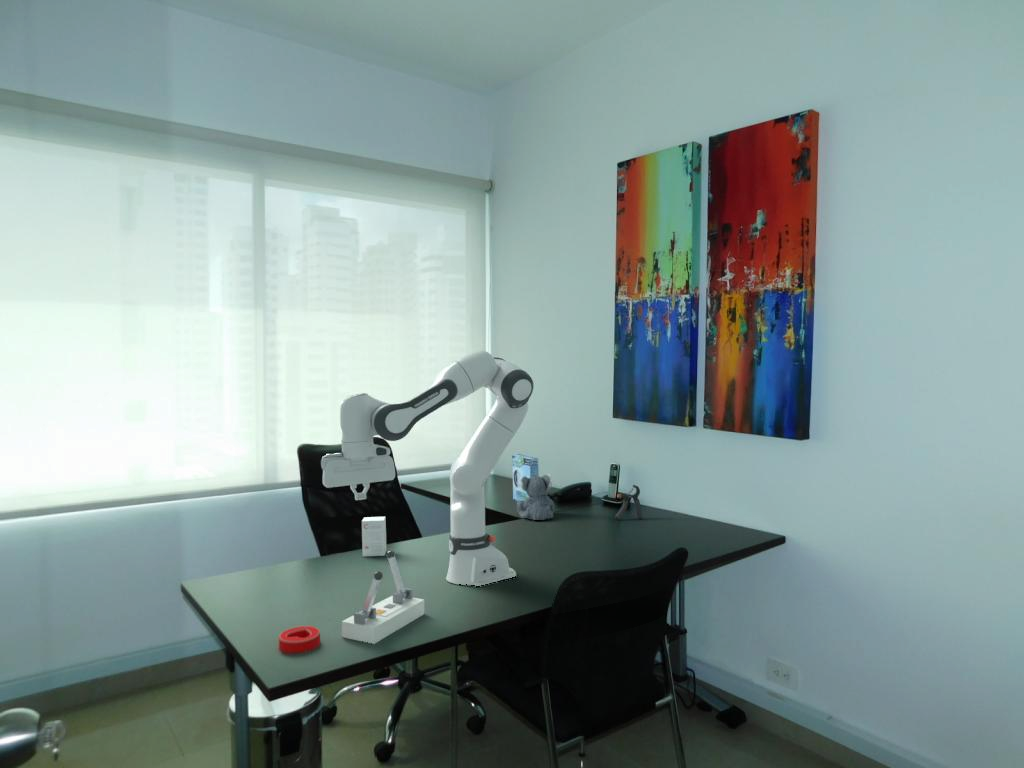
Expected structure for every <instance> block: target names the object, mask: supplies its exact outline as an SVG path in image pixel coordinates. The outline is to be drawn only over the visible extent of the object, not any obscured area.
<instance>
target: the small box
mask: <svg viewBox="0 0 1024 768" xmlns="http://www.w3.org/2000/svg"><path fill="white" fill-rule="evenodd" d="M386 519H387V518H386V516H370V517H369V516H367V517H363V519H362V520H361V542H362V543H361V546H362V547H361V549H362V550H361V551H362V557H383V556H386V554H387V528H386V526H387V525H386V524H387V523H386V521H387V520H386Z"/></svg>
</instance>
